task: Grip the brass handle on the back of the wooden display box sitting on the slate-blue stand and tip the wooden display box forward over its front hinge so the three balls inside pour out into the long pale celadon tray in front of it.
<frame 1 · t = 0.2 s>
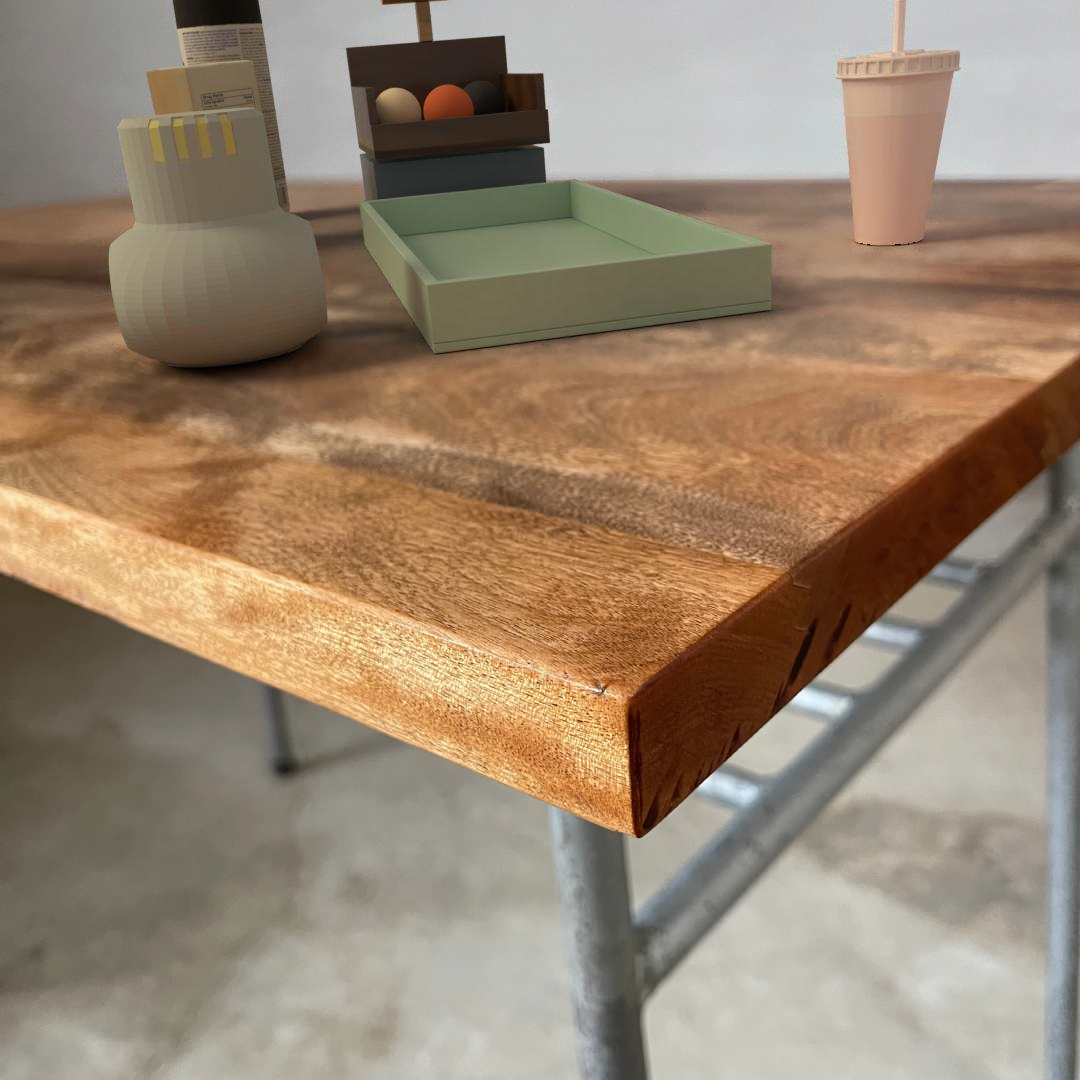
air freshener: (235, 357, 50), on the table
ball charcoal: (481, 106, 85), point 8 cm above the table, touching wooden display box
spray can: (253, 222, 95), on the table
ball terracotta: (448, 111, 80), point 8 cm above the table, touching wooden display box
cosmetic box: (234, 250, 80), on the table
tray: (524, 270, 63), on the table
stand: (456, 221, 84), on the table
ball cream: (397, 113, 83), point 8 cm above the table, touching wooden display box
wooden display box: (439, 61, 80), point 11 cm above the table, hinge at 0.0°, touching ball charcoal, ball cream, ball terracotta
smoothie: (888, 243, 63), on the table
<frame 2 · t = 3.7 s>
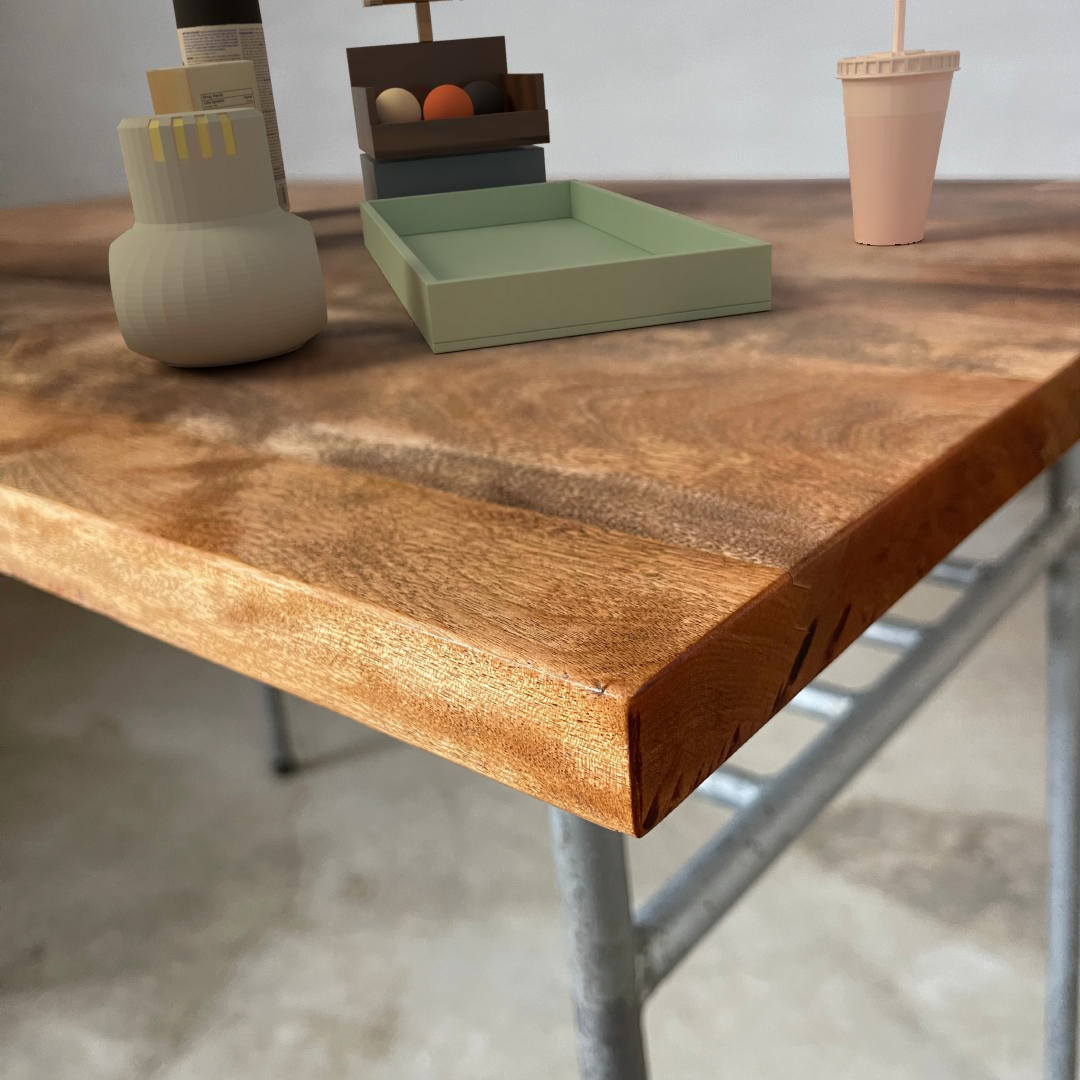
hand: (421, 3, 84), 15 cm above the table, tool pointing down, fingers closed on wooden display box, 6 cm apart
wooden display box: (439, 61, 80), point 11 cm above the table, hinge at -0.1°, touching ball charcoal, ball cream, ball terracotta, gripper
everything else where it was.
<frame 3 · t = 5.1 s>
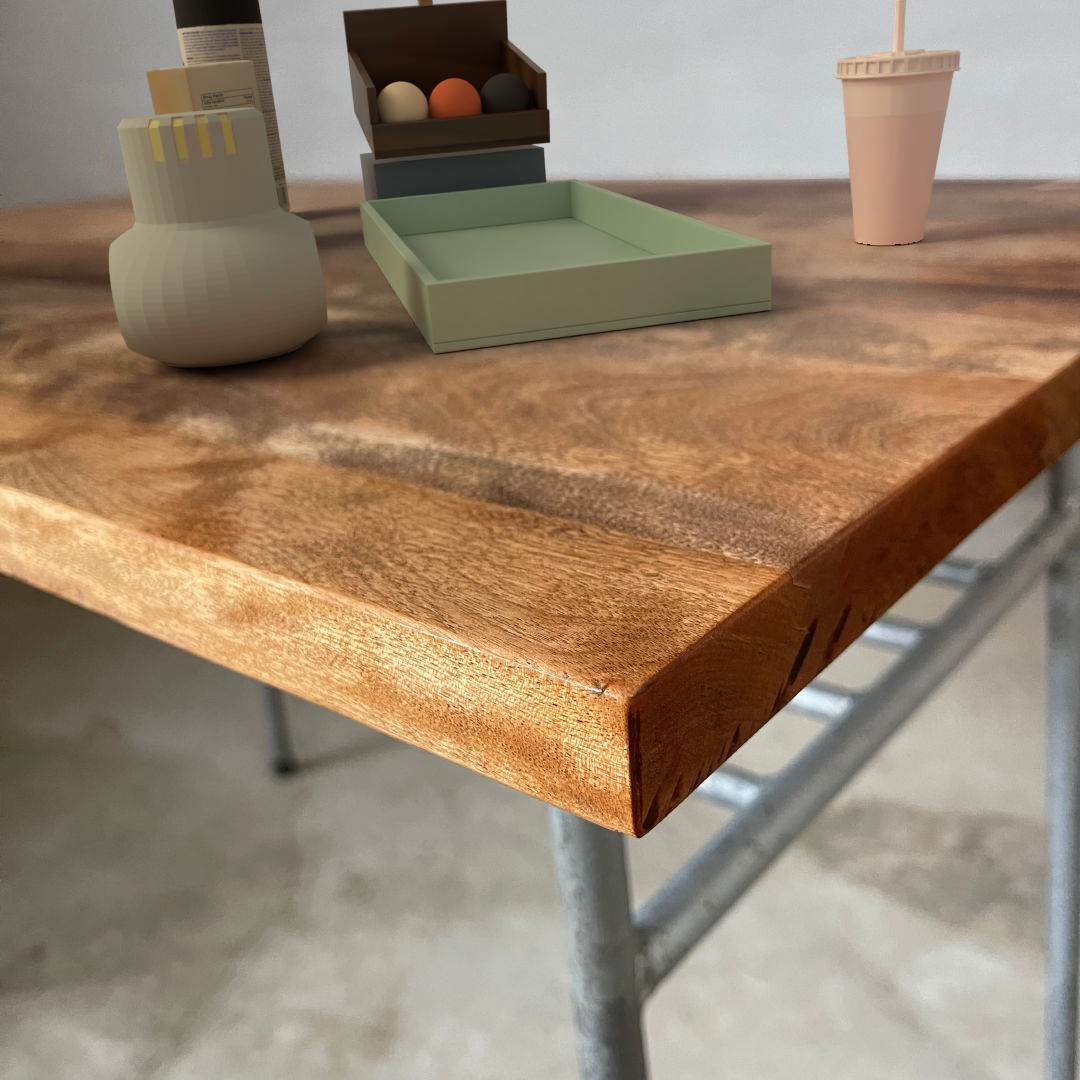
ball charcoal: (505, 101, 78), point 8 cm above the table, tilted 132°, touching wooden display box
ball terracotta: (455, 106, 77), point 8 cm above the table, tilted 103°, touching wooden display box
ball cream: (402, 110, 76), point 8 cm above the table, tilted 135°, touching wooden display box
wooden display box: (440, 41, 78), point 12 cm above the table, hinge at 11.4°, touching ball charcoal, ball cream, ball terracotta, gripper
everything else where it was.
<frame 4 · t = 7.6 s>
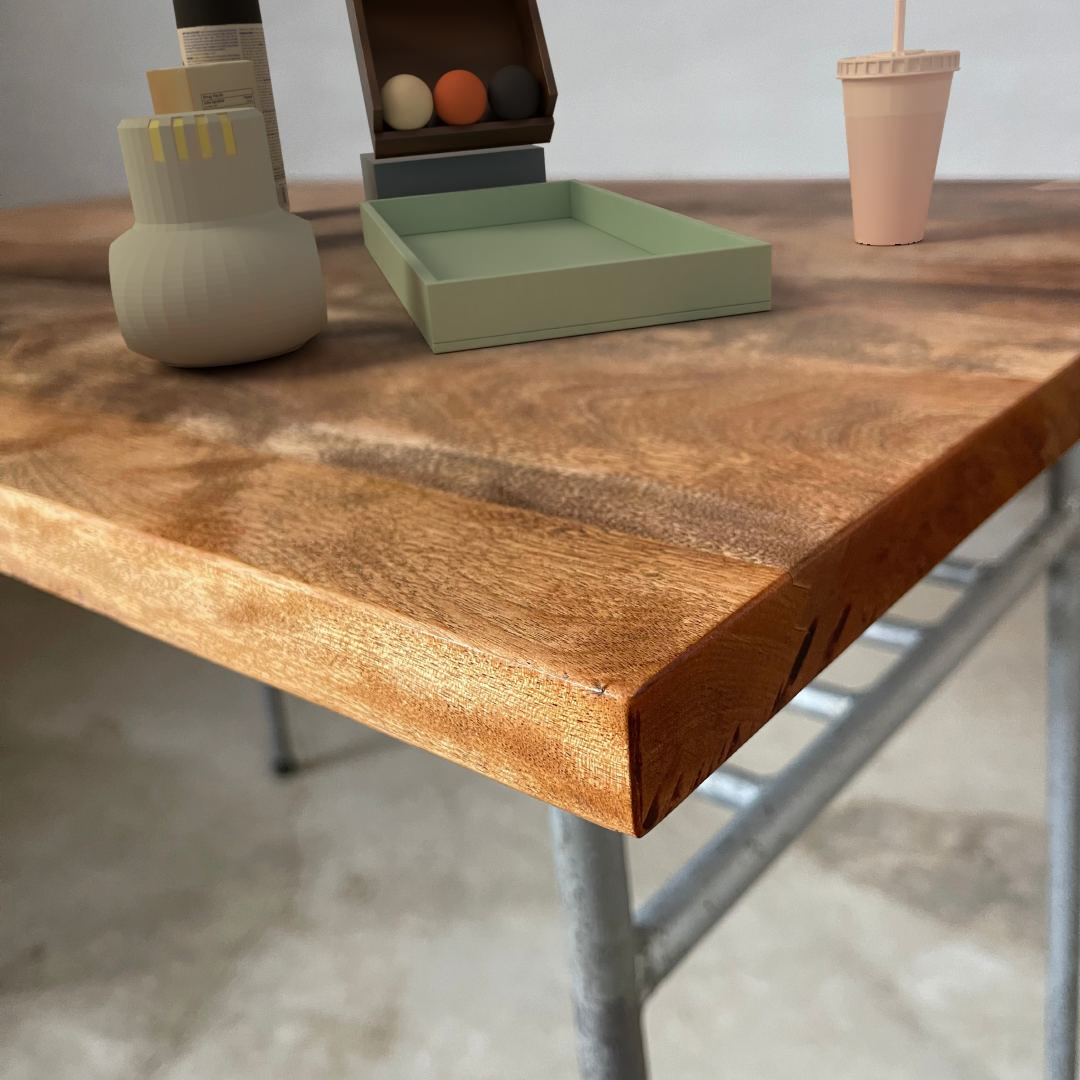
ball charcoal: (513, 94, 75), point 9 cm above the table, tilted 83°, touching wooden display box
ball terracotta: (460, 99, 75), point 9 cm above the table, tilted 144°, touching wooden display box
ball cream: (406, 103, 74), point 9 cm above the table, tilted 83°, touching wooden display box
wooden display box: (451, 6, 72), point 14 cm above the table, hinge at 52.7°, touching ball charcoal, ball cream, ball terracotta, gripper
everything else where it was.
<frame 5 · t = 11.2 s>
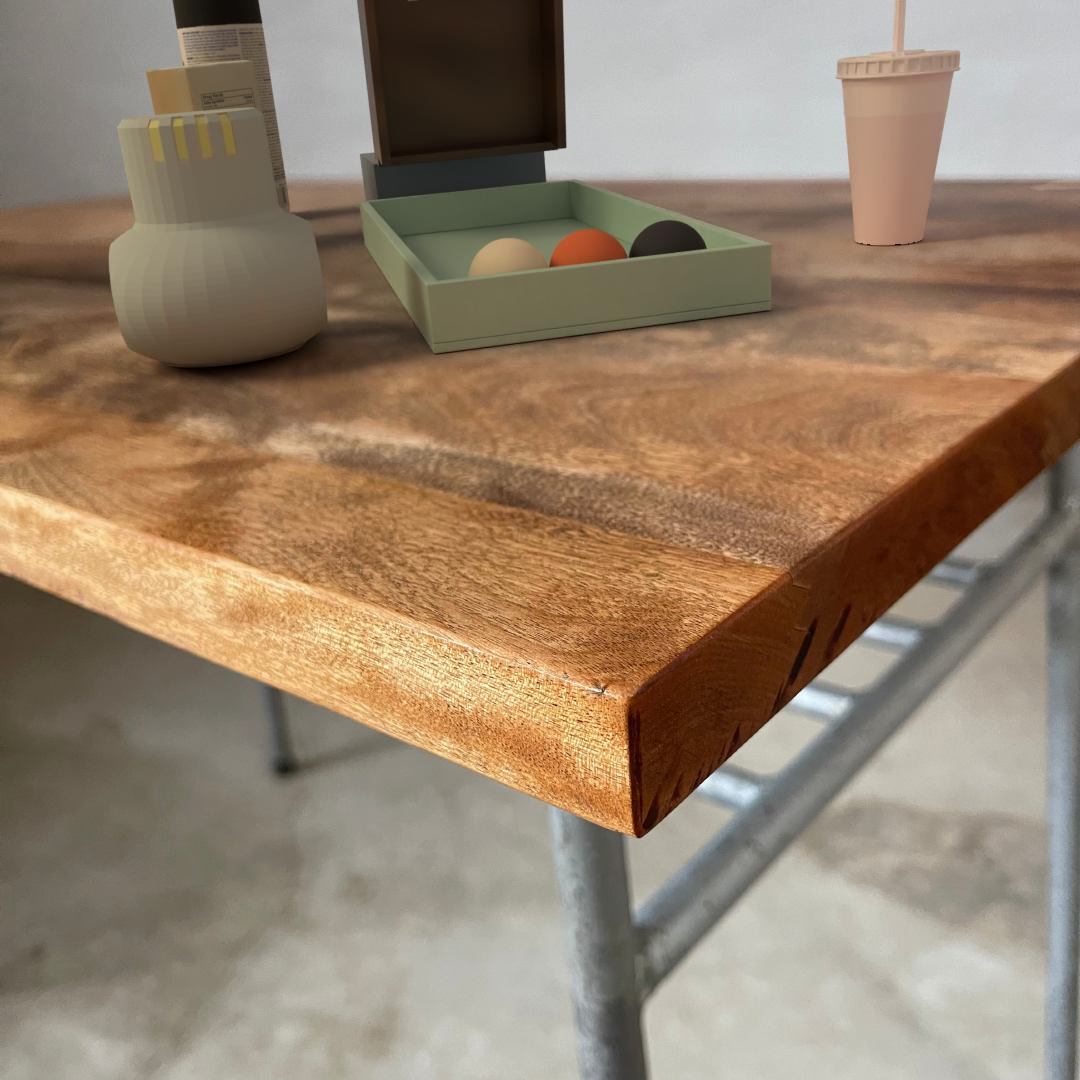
ball charcoal: (668, 261, 50), point 2 cm above the table, tilted 162°, touching tray
ball terracotta: (589, 271, 49), point 2 cm above the table, tilted 61°, touching tray
ball cream: (509, 280, 49), point 2 cm above the table, tilted 163°, touching tray
wooden display box: (472, 56, 68), point 11 cm above the table, hinge at 98.9°, touching gripper
everything else where it was.
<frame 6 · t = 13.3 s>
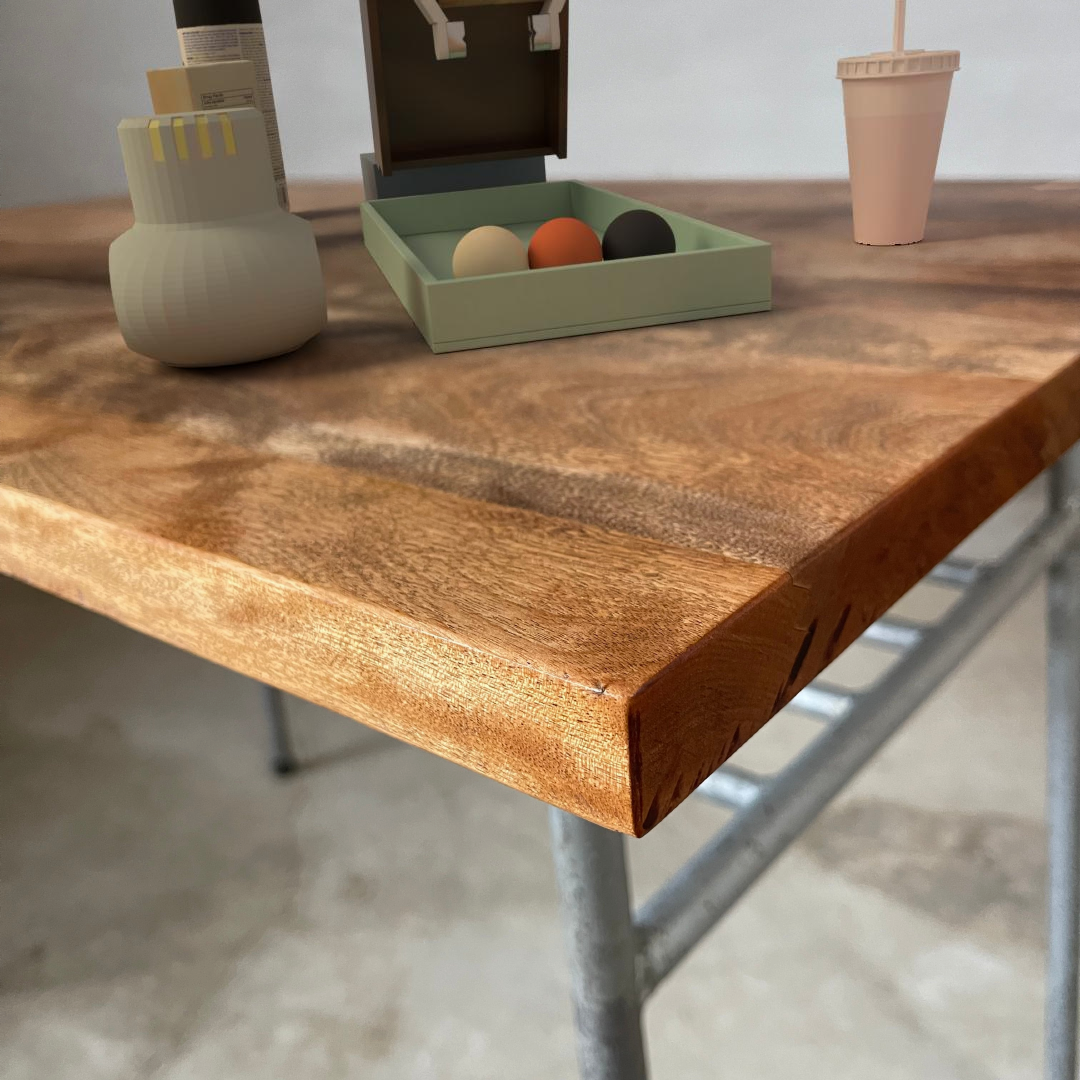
hand: (498, 54, 61), 11 cm above the table, tool pointing down, fingers closed on wooden display box, 4 cm apart
ball charcoal: (638, 248, 54), point 2 cm above the table, tilted 56°, touching tray
ball terracotta: (564, 256, 53), point 2 cm above the table, tilted 78°, touching tray
ball cream: (490, 265, 53), point 2 cm above the table, tilted 56°, touching tray
wooden display box: (476, 75, 68), point 10 cm above the table, hinge at 107.2°, touching gripper
everything else where it was.
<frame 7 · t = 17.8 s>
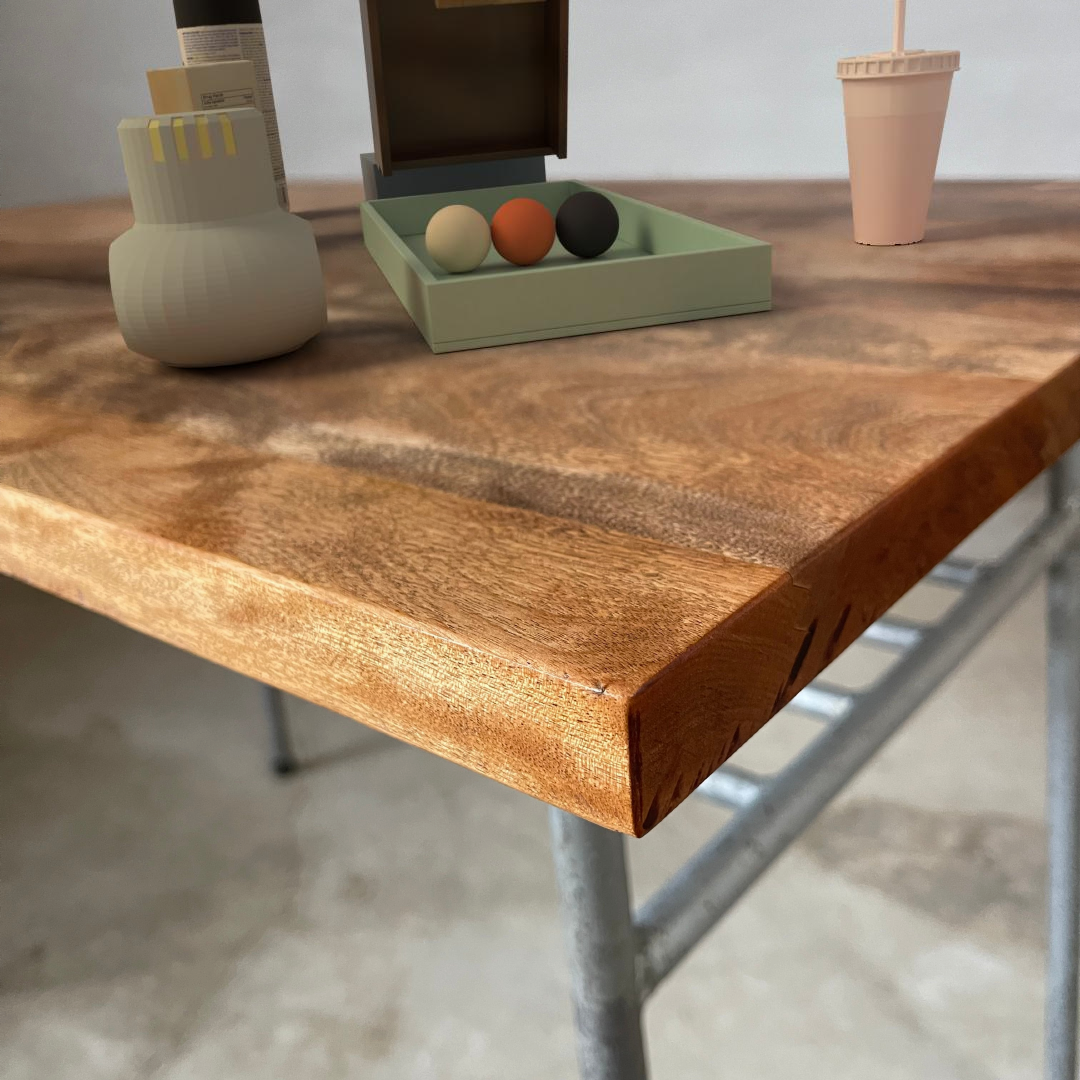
ball charcoal: (587, 224, 62), point 2 cm above the table, tilted 118°, touching tray
ball terracotta: (523, 231, 62), point 2 cm above the table, tilted 15°, touching tray
ball cream: (458, 239, 61), point 2 cm above the table, tilted 117°, touching tray
wooden display box: (476, 75, 68), point 10 cm above the table, hinge at 107.3°
everything else where it was.
at the end: wooden display box reached +108° during the clip, +107° at the end; ball terracotta touching tray; ball cream inside the target area in the tray (3.7 cm from its centre), point 2.2 cm above the tray's base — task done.
